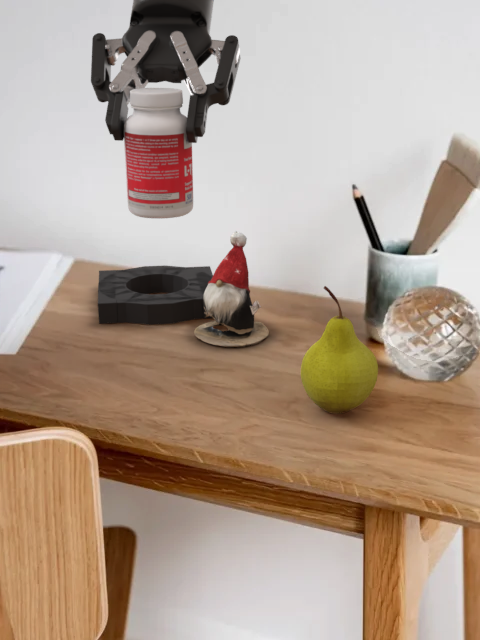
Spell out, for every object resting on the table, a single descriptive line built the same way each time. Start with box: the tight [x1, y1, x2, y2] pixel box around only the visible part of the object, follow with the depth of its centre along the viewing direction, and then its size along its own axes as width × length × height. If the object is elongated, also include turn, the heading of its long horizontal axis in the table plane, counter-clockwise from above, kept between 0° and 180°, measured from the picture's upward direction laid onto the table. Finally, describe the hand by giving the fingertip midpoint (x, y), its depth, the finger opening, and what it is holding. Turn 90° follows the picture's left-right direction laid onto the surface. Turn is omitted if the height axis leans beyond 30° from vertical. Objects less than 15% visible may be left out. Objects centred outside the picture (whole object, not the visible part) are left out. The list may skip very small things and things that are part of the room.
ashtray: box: [97, 265, 214, 326], centre depth 102 cm, size 14×14×2 cm
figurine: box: [193, 230, 270, 348], centre depth 93 cm, size 8×10×12 cm
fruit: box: [300, 285, 379, 414], centre depth 75 cm, size 7×7×12 cm
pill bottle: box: [123, 87, 194, 219], centre depth 77 cm, size 6×6×11 cm
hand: (154, 136), depth 75 cm, fingers closed on pill bottle, 6 cm apart
